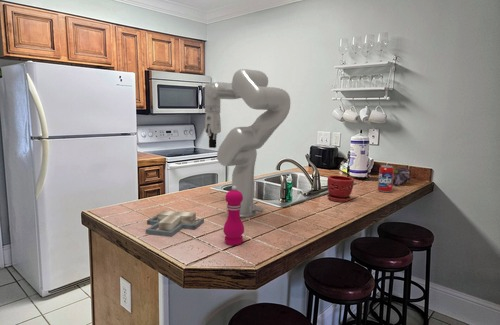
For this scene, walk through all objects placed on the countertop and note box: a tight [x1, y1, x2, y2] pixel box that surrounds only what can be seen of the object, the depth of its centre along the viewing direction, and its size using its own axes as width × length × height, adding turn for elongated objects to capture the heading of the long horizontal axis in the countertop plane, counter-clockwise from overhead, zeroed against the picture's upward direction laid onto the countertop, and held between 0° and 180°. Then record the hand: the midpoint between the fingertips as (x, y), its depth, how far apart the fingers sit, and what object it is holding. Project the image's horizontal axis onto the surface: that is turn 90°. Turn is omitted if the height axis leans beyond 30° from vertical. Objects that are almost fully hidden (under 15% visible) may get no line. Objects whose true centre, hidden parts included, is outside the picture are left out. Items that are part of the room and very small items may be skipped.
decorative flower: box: [393, 167, 412, 187], centre depth 213 cm, size 14×12×15 cm
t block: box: [157, 210, 197, 231], centre depth 128 cm, size 14×14×4 cm
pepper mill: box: [222, 186, 245, 246], centre depth 113 cm, size 7×7×20 cm
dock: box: [145, 214, 205, 238], centre depth 128 cm, size 20×18×2 cm
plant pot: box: [326, 175, 355, 203], centre depth 172 cm, size 13×13×12 cm
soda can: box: [377, 164, 395, 193], centre depth 192 cm, size 8×8×15 cm
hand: (212, 147), depth 162 cm, fingers closed
